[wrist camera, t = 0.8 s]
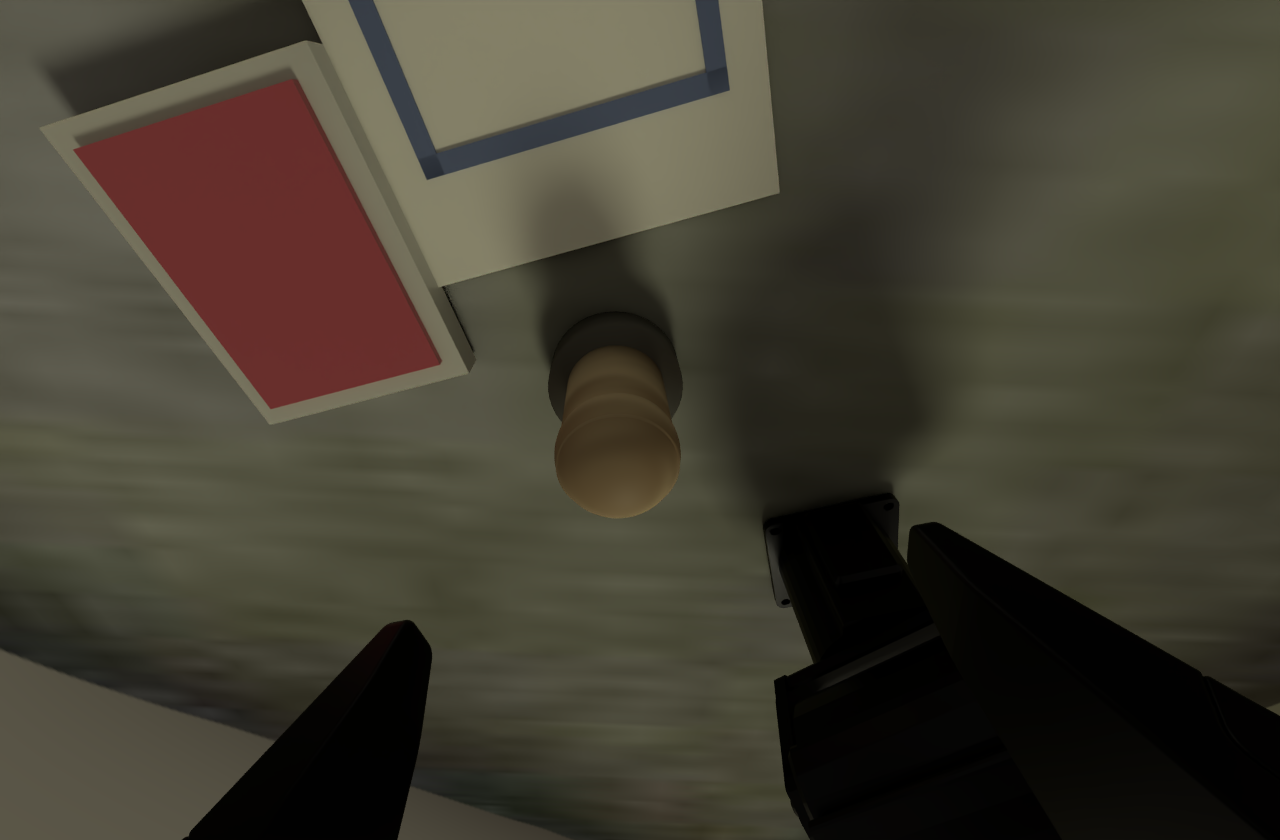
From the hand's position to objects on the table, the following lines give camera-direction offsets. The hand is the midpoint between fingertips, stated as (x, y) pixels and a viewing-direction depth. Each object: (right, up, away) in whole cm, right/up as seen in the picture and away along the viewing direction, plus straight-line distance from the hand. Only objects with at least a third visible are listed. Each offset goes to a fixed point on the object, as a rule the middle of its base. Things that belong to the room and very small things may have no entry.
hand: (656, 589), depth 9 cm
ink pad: (-12, +8, +8) cm, 17 cm away
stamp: (-1, +5, +11) cm, 12 cm away
